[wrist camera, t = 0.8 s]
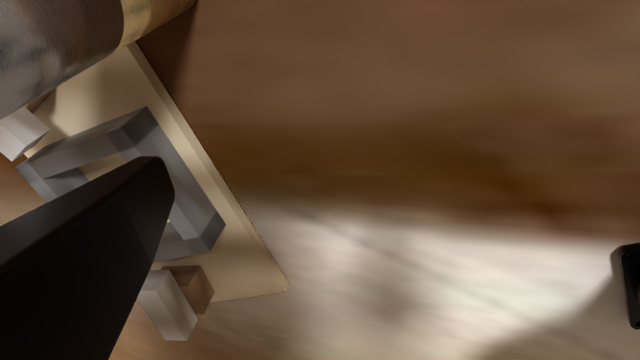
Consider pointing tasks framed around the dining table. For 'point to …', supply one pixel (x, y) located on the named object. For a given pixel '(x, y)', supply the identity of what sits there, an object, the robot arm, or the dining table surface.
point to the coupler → (67, 40)
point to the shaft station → (183, 167)
